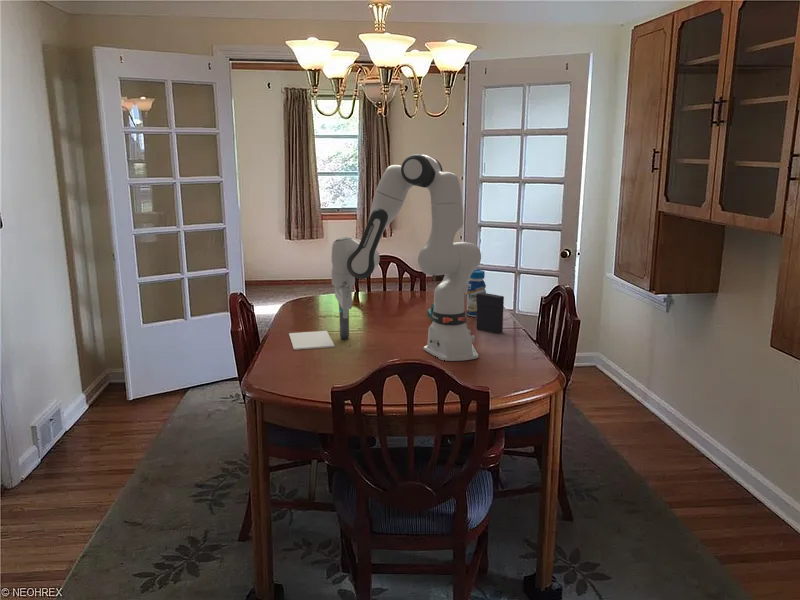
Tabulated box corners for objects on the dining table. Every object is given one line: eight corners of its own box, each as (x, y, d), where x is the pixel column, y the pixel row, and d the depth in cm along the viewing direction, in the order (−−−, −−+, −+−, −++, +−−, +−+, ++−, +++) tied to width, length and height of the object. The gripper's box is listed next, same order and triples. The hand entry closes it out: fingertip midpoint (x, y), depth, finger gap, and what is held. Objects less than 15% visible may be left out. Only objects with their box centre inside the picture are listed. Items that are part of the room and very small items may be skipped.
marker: (350, 339, 247) (349, 309, 244) (340, 340, 246) (340, 309, 243) (348, 336, 250) (348, 307, 247) (339, 337, 249) (338, 307, 247)
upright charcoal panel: (503, 332, 257) (505, 295, 254) (497, 334, 254) (499, 297, 251) (481, 327, 265) (482, 291, 261) (475, 329, 261) (476, 293, 258)
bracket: (449, 322, 272) (449, 304, 270) (433, 323, 271) (434, 305, 270) (440, 312, 290) (441, 295, 288) (426, 313, 289) (426, 296, 287)
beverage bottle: (484, 312, 289) (485, 269, 284) (486, 317, 281) (487, 272, 276) (465, 312, 289) (466, 269, 285) (466, 317, 281) (468, 272, 276)
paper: (334, 347, 237) (334, 345, 236) (293, 350, 233) (293, 348, 233) (326, 332, 256) (326, 330, 256) (289, 334, 253) (288, 333, 253)
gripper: (356, 285, 234) (356, 321, 237) (347, 274, 253) (347, 307, 257) (339, 286, 233) (339, 322, 236) (331, 274, 252) (331, 308, 255)
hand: (343, 314), depth 246 cm, fingers open, 8 cm apart
